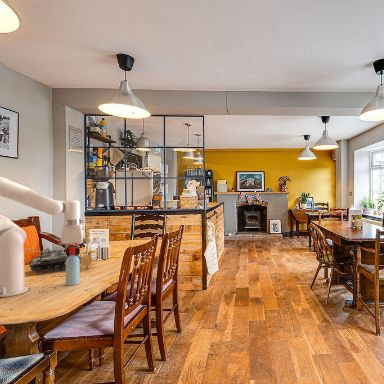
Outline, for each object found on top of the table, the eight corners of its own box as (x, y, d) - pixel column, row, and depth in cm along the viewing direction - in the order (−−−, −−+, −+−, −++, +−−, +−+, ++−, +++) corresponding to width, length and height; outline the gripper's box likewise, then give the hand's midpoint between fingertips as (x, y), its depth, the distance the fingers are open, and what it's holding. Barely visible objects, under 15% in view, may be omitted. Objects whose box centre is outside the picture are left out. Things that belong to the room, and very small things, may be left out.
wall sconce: (94, 270, 182) (94, 231, 181) (77, 272, 179) (77, 232, 178) (99, 265, 195) (98, 228, 195) (83, 266, 192) (82, 229, 191)
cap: (77, 252, 159) (77, 246, 159) (76, 254, 155) (76, 247, 155) (69, 253, 158) (69, 246, 158) (67, 255, 154) (67, 248, 154)
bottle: (70, 286, 152) (70, 249, 152) (63, 284, 155) (63, 248, 155) (82, 282, 158) (82, 247, 158) (74, 281, 161) (74, 246, 161)
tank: (24, 271, 180) (24, 248, 180) (80, 263, 201) (79, 242, 201) (25, 277, 168) (25, 252, 168) (85, 267, 189) (84, 245, 189)
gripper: (90, 221, 163) (91, 253, 163) (56, 222, 157) (56, 255, 157) (88, 222, 156) (88, 255, 156) (52, 224, 150) (52, 258, 150)
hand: (72, 255), depth 157 cm, fingers closed on cap, 3 cm apart
